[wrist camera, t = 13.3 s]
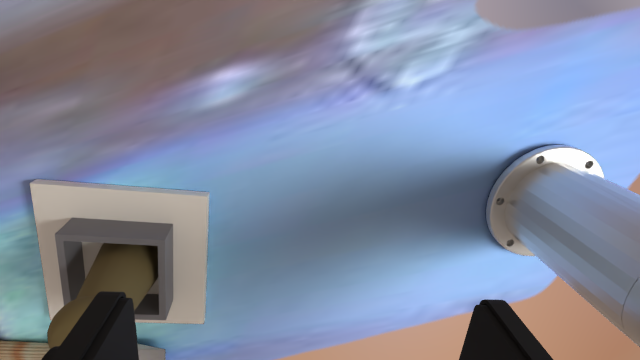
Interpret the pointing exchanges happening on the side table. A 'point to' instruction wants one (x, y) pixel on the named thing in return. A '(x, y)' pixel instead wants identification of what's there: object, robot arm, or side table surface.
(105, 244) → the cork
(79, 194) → the beige square socket base
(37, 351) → the paintbrush
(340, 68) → the side table surface
